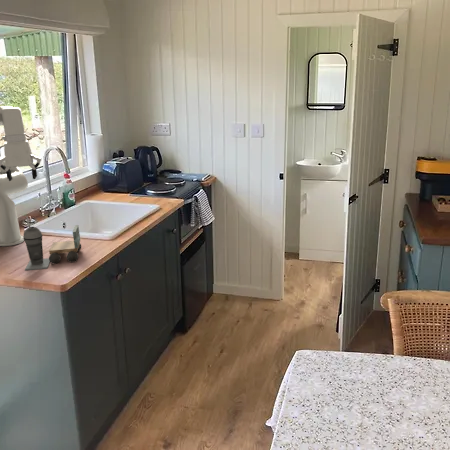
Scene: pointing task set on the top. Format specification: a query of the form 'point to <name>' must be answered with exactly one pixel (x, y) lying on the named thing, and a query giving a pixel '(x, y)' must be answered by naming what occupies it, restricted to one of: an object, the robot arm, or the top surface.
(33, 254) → the beverage cup
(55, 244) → the trolley
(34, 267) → the mat
